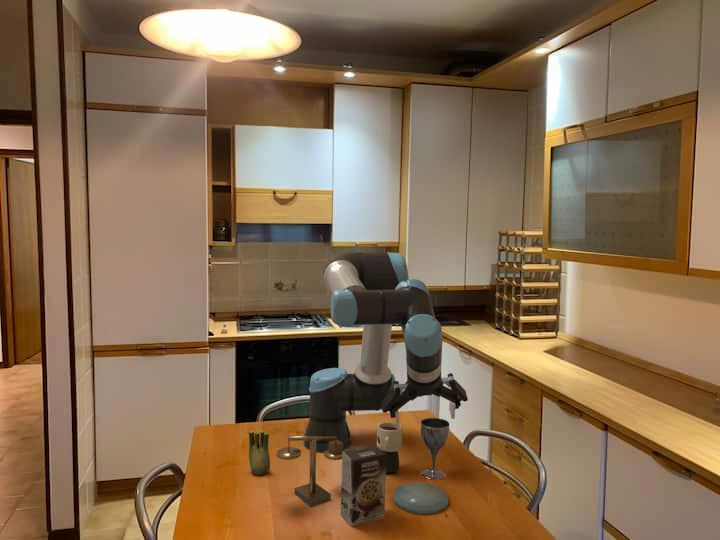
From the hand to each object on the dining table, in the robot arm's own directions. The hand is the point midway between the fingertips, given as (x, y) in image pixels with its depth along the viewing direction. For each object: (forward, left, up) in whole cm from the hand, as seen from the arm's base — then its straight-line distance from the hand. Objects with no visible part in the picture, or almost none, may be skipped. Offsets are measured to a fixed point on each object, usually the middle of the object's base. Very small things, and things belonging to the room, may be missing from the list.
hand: (424, 417), depth 138 cm
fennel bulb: (-39, -25, -23) cm, 52 cm away
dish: (-2, +2, -23) cm, 23 cm away
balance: (-19, -20, -23) cm, 36 cm away
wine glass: (-11, +15, -23) cm, 30 cm away
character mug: (-20, +6, -23) cm, 31 cm away
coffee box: (-4, -15, -23) cm, 28 cm away
